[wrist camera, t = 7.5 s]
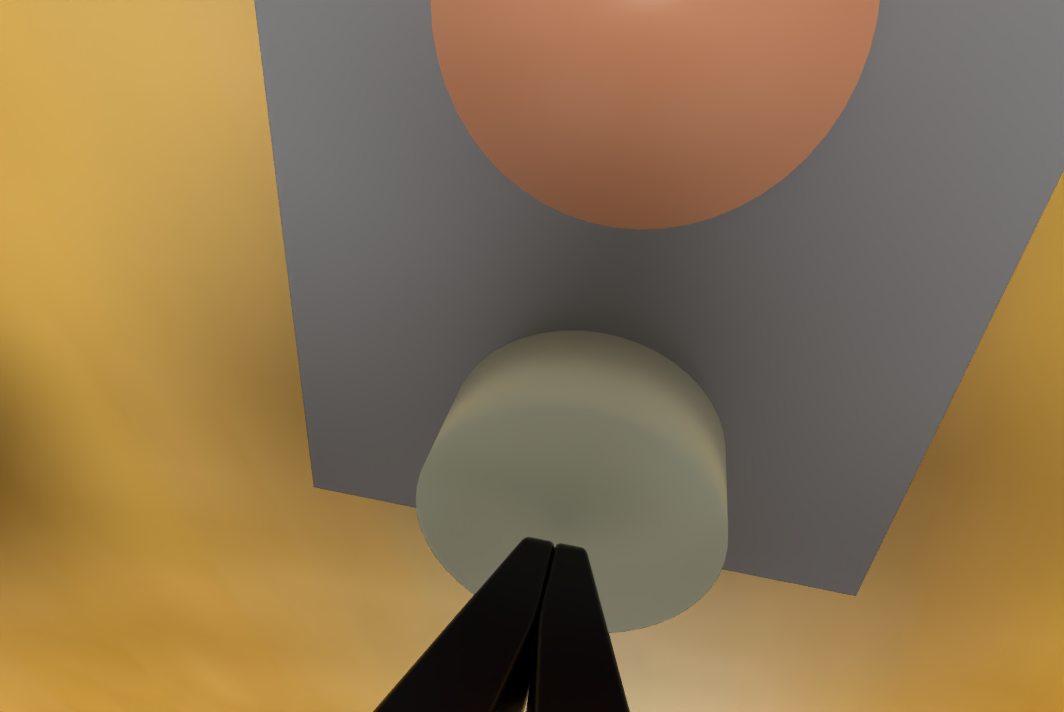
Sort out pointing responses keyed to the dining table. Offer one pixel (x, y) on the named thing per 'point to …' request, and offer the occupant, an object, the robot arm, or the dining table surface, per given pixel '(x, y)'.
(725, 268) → the button panel
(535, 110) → the button terracotta
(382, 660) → the dining table surface
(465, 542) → the button sage
